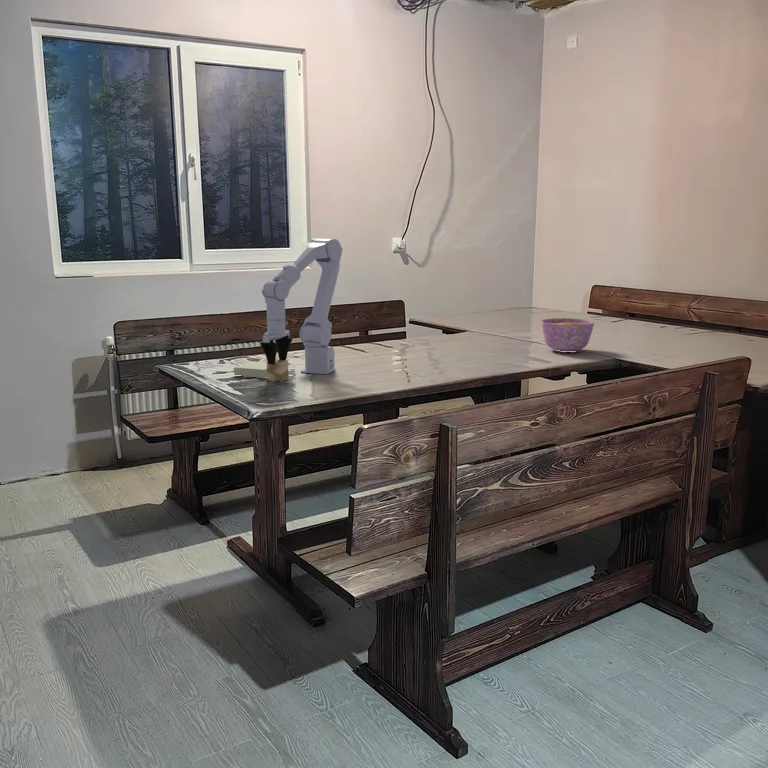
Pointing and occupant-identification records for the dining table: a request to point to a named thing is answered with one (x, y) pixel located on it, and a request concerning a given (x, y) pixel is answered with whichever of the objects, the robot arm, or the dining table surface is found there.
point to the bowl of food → (567, 333)
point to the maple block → (277, 370)
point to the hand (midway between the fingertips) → (277, 362)
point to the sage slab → (252, 369)
